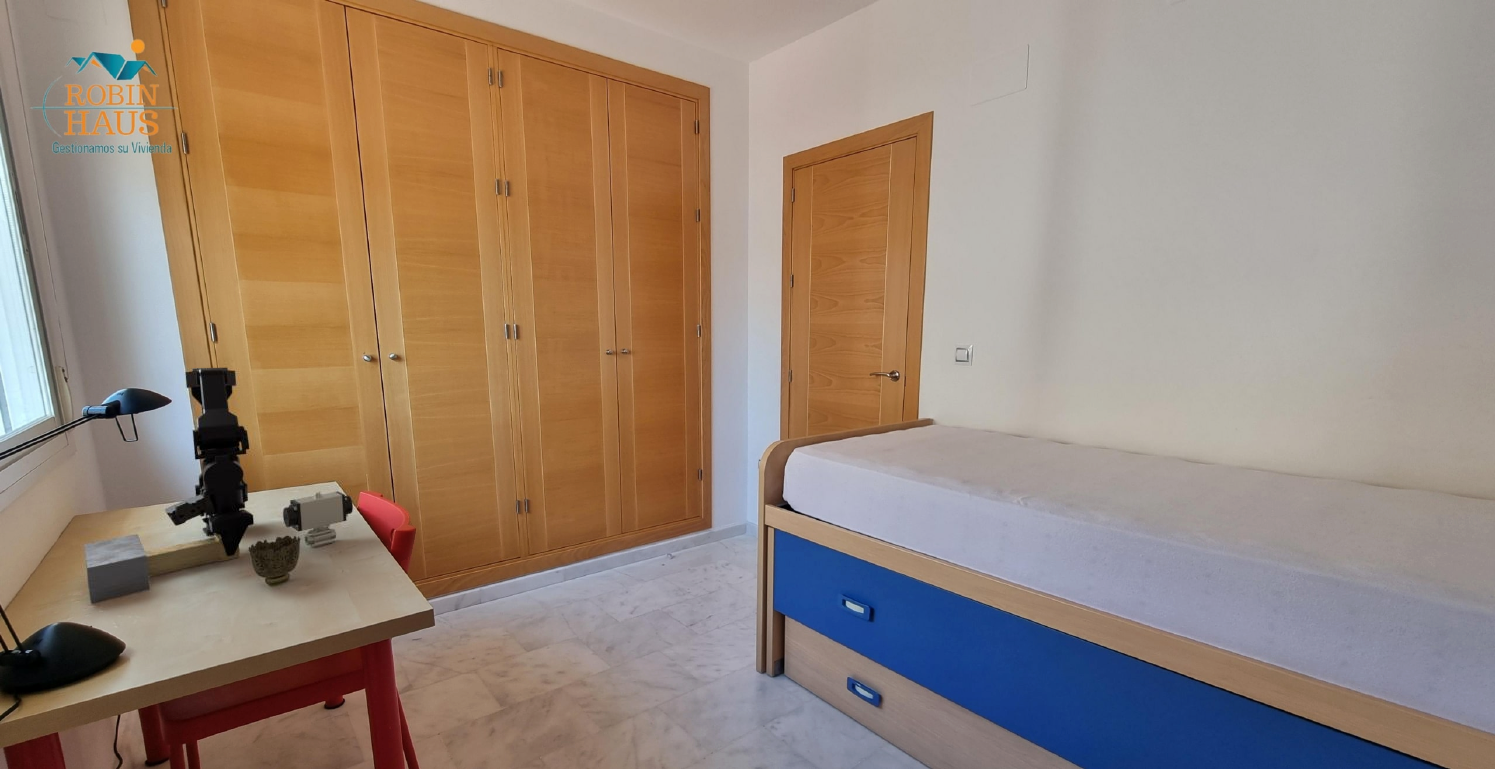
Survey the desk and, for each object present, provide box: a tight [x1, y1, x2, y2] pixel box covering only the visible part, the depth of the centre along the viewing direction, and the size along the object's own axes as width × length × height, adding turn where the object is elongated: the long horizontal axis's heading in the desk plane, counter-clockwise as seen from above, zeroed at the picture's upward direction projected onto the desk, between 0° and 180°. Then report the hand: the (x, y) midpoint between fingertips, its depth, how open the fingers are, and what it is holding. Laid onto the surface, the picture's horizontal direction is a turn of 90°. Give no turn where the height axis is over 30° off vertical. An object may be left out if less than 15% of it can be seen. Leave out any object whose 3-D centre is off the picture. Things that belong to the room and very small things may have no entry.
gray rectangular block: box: [83, 533, 151, 605], centre depth 103 cm, size 7×18×6 cm, turn 52°
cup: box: [248, 534, 301, 586], centre depth 103 cm, size 8×7×8 cm
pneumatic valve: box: [282, 491, 354, 548], centre depth 123 cm, size 6×12×12 cm, turn 144°
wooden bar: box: [145, 534, 241, 577], centre depth 111 cm, size 15×5×5 cm, turn 142°
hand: (228, 552), depth 116 cm, fingers closed on wooden bar, 5 cm apart
